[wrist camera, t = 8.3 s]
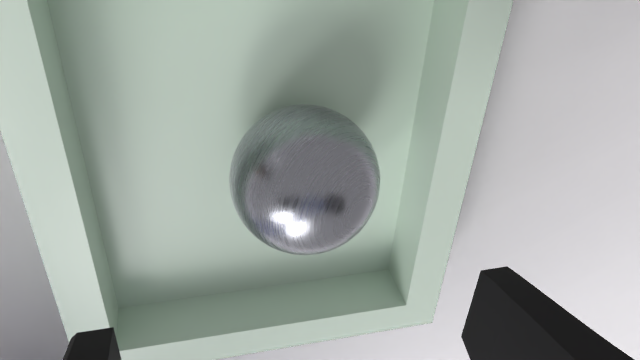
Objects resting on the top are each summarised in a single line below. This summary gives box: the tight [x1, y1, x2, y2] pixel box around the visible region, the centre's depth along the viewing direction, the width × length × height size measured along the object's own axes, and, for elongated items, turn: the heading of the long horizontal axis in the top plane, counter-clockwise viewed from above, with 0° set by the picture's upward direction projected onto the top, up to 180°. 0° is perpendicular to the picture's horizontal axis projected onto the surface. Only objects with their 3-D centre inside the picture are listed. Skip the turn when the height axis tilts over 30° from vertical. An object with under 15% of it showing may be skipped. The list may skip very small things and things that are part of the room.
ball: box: [229, 104, 380, 255], centre depth 15 cm, size 4×4×4 cm
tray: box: [0, 0, 513, 360], centre depth 16 cm, size 14×12×2 cm
